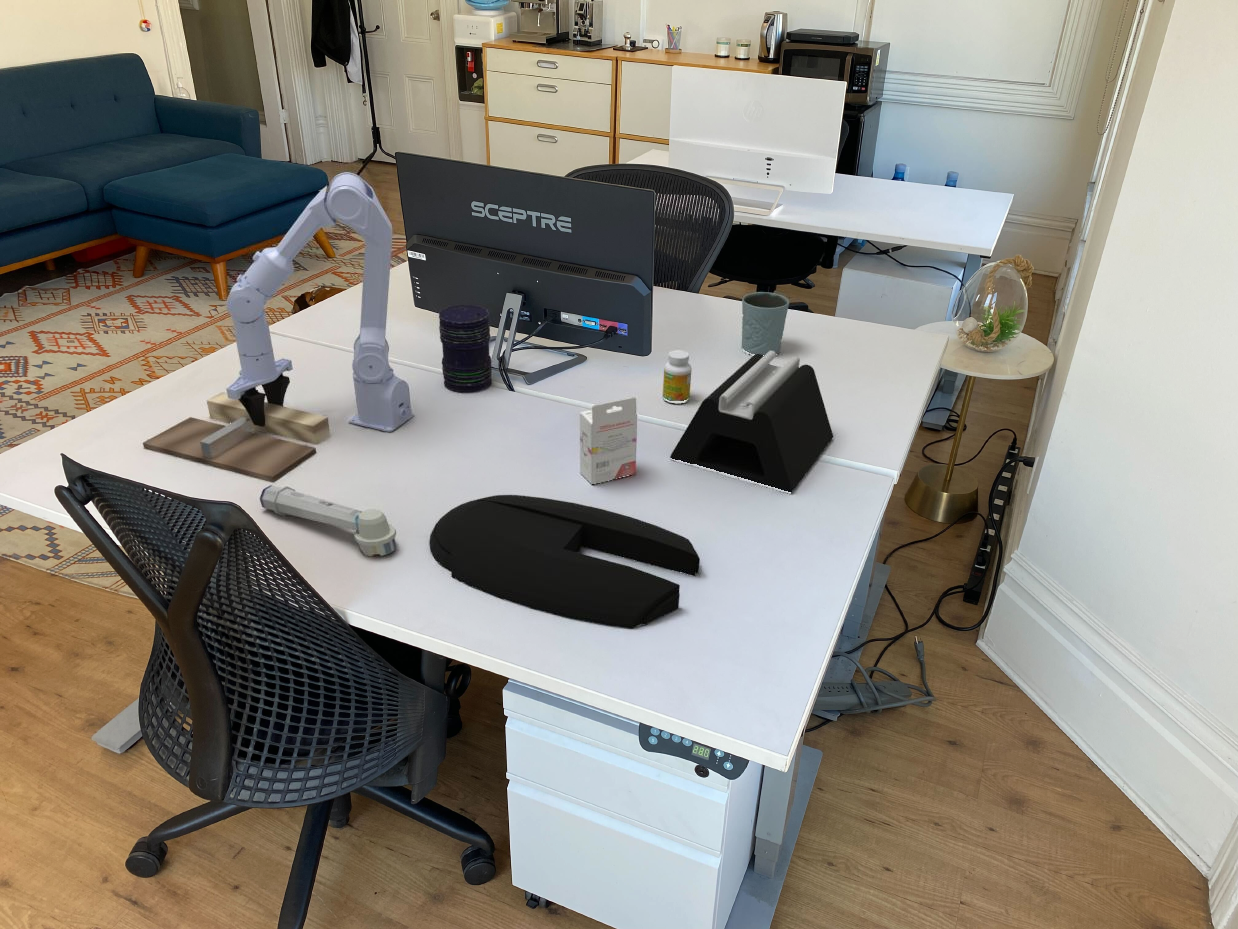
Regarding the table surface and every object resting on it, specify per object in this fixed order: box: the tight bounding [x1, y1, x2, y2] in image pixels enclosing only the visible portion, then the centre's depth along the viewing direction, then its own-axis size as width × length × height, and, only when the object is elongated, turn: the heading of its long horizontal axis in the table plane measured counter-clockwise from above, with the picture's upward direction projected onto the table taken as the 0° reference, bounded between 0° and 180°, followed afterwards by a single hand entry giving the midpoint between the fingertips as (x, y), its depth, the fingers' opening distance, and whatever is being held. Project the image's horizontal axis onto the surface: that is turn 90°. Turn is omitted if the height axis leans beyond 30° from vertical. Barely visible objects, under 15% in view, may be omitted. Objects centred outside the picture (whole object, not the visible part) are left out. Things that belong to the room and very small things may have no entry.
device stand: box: [669, 351, 834, 494], centre depth 162 cm, size 22×22×15 cm
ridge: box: [200, 417, 255, 459], centre depth 159 cm, size 2×10×3 cm, turn 158°
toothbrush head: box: [259, 484, 397, 557], centre depth 139 cm, size 5×7×25 cm
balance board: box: [142, 416, 317, 483], centre depth 160 cm, size 28×11×1 cm, turn 68°
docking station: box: [428, 494, 701, 629], centre depth 134 cm, size 25×41×5 cm, turn 68°
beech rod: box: [206, 391, 331, 445], centre depth 167 cm, size 24×4×4 cm, turn 68°
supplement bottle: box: [662, 349, 693, 401], centre depth 181 cm, size 5×5×10 cm
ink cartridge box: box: [579, 396, 638, 485], centre depth 153 cm, size 9×5×15 cm, turn 117°
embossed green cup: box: [741, 291, 790, 355], centre depth 203 cm, size 10×10×12 cm
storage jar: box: [438, 304, 493, 394], centre depth 183 cm, size 10×10×15 cm
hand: (268, 419), depth 168 cm, fingers closed on beech rod, 4 cm apart
